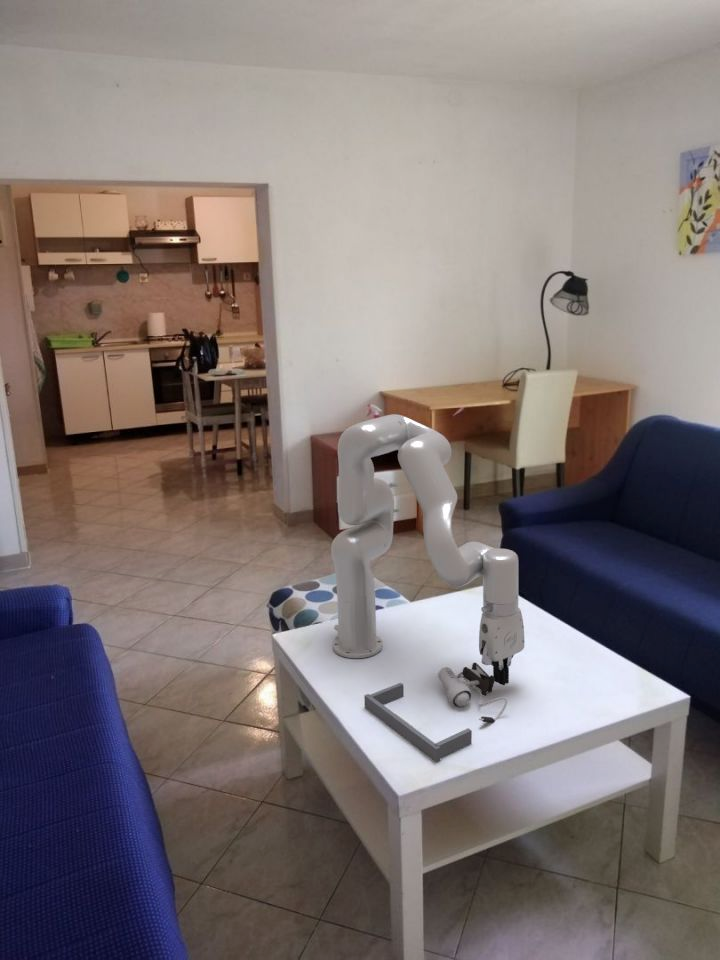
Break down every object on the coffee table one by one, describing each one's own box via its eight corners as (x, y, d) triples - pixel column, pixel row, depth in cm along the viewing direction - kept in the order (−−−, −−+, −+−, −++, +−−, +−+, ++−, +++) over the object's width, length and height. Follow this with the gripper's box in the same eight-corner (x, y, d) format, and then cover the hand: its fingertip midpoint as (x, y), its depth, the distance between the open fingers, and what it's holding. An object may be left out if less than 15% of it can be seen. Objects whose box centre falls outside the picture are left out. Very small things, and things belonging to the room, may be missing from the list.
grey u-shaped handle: (364, 707, 159) (364, 695, 158) (399, 693, 164) (399, 681, 163) (436, 763, 139) (436, 749, 139) (473, 745, 144) (473, 731, 144)
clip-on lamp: (516, 729, 155) (475, 673, 170) (523, 706, 152) (481, 651, 167) (467, 738, 150) (430, 680, 165) (473, 714, 148) (435, 657, 163)
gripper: (488, 620, 152) (488, 700, 156) (537, 601, 160) (536, 677, 164) (463, 609, 158) (464, 686, 162) (512, 591, 166) (512, 665, 170)
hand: (500, 681), depth 163 cm, fingers closed
